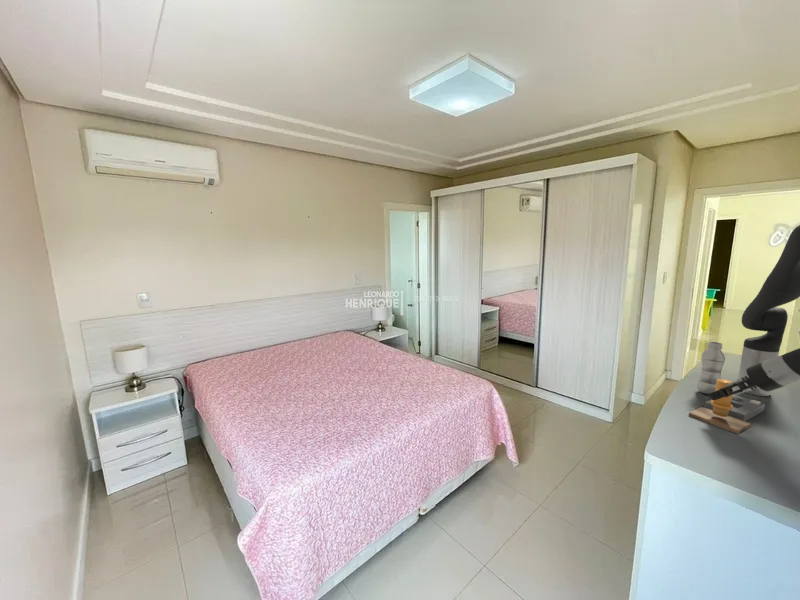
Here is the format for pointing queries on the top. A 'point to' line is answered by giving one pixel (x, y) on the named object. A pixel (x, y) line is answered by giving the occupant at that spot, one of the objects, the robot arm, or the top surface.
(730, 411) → the grey socket board
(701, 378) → the plastic bottle
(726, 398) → the plug
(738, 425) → the board
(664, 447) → the top surface
